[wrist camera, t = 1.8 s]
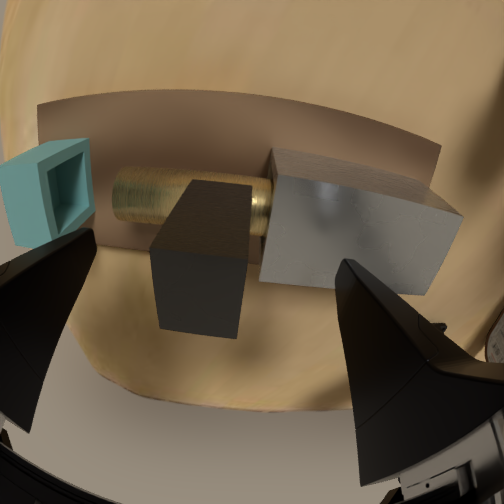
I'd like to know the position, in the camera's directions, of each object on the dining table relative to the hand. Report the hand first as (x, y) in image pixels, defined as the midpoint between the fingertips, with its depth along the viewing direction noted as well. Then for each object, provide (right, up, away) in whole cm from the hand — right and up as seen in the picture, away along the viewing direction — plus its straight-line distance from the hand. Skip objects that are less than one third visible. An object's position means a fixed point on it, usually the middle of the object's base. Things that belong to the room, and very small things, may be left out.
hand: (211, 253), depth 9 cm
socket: (-10, +5, +5) cm, 12 cm away
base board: (0, +4, +6) cm, 8 cm away
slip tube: (+2, +3, +5) cm, 6 cm away
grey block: (+6, +3, +6) cm, 9 cm away
